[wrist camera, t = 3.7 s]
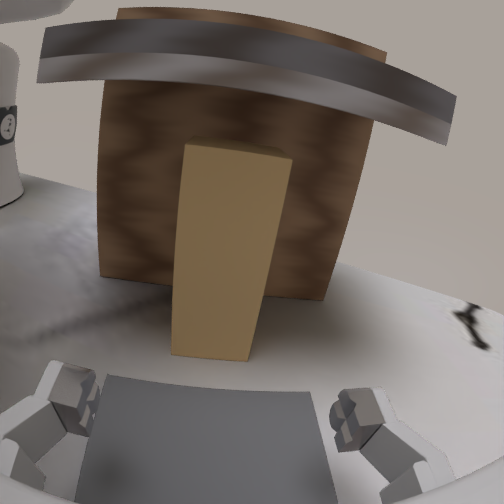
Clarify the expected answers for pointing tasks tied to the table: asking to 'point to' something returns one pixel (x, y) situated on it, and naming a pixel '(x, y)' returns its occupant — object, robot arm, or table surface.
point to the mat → (203, 447)
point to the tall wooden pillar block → (224, 244)
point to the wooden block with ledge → (233, 126)
